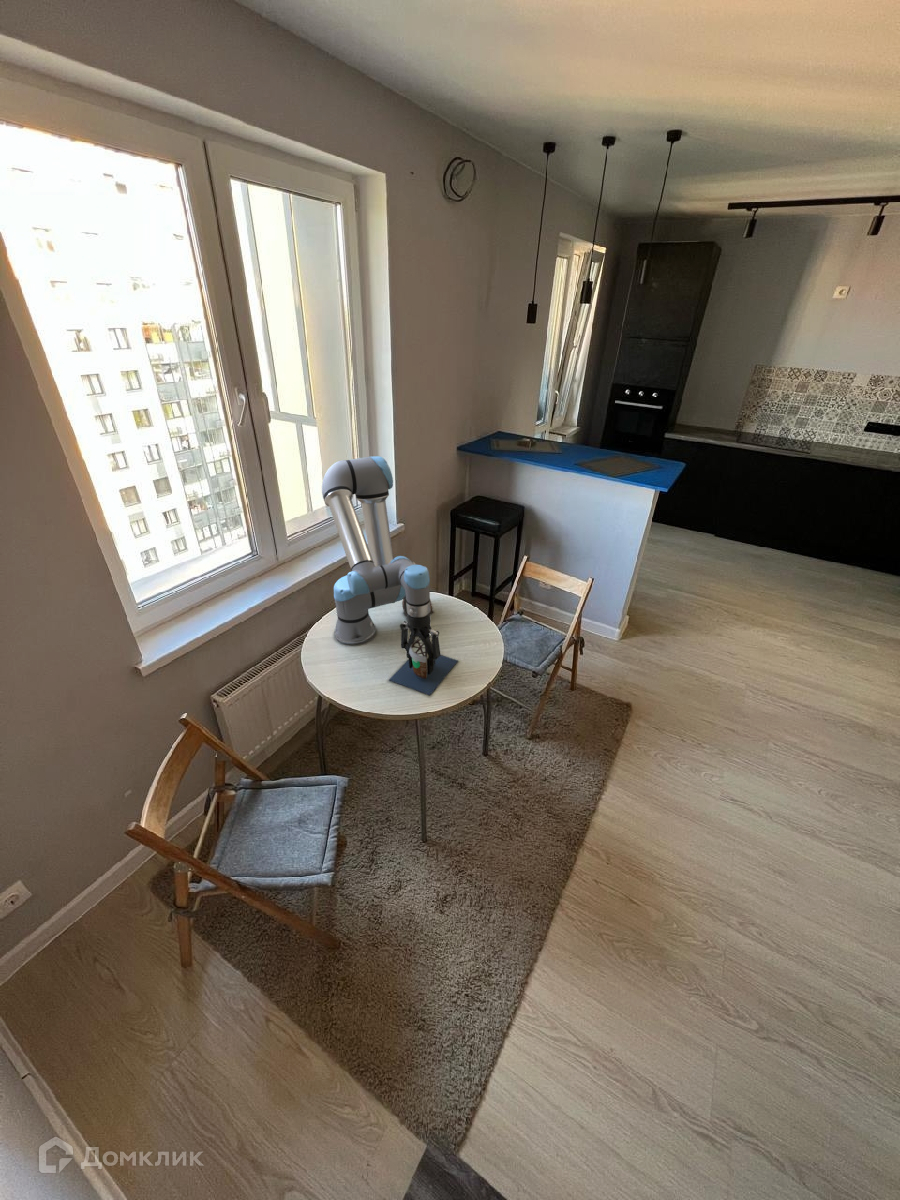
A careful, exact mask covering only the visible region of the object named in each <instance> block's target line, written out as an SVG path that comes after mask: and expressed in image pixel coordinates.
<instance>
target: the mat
mask: <svg viewBox="0 0 900 1200" xmlns="http://www.w3.org/2000/svg"><path fill="white" fill-rule="evenodd" d="M458 660H459V659H455V658H452V657H449V656H445V655H442V654H441V655H440V656H439V657H438V658H437V659H435V665H434V666H433V669H434V670H433V671H432V673H431V674H430V675H429V674H428V671H427V678H421V677H419V676H417V675H416V674H415V673H414V671H413V667H412V668H409V658H407V660H406V661H405V663H404V664H402V666H401V667H400V668H399V669H398V670H397V671H396V672H395V673H394V674H393V675H392V676H391V677H390V678H389V679H388V681H389V682H392V683H394V684H397V685H400V686H402V687H405V688H408V689H411V690H413V691H416V692H419V693H422V694H424V695H427V696H432V694H433V693H434V692H435V691H436V689H437V688H438V687H439V686H440V684H441V683H442V682H443V680H444V679H445V678H446V677H447V676H448V675H449V674H450V672H451V670H452V669H453V668H454V667H455V666H456V665H457V664H458V662H459V661H458Z"/></svg>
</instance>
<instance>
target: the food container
mask: <svg viewBox="0 0 900 1200" xmlns="http://www.w3.org/2000/svg"><path fill="white" fill-rule="evenodd" d="M409 653H410V656H411V657H412V664H413V671H414V673H415V674H416V675H417V676H419V677H421V678H427V671H428V670H427V658H428V657H429V656H428V654H427V651H426V648H425V646H424V643H423V642H422V640H421V638H419V637H416V638H415V641H414V643H413V644H411V646H410V649H409Z"/></svg>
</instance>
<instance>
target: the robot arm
mask: <svg viewBox="0 0 900 1200" xmlns="http://www.w3.org/2000/svg"><path fill="white" fill-rule="evenodd" d="M321 483H322V484H321V495H322V499H323V501H324V504H325V506H326V507H328V508H329V510H330V513H331V516H332V519H333V521H334V525H335V527H336V530H337V533H338V536H339V538H340V541H341V544H342V547H343V551H344V554H345V556H346V560H347V562H348V565H349V567H350V571H349V572H348V573H347V575H345V576H342V577H340V578H339V579H338V580H336V582H335V583H334V585H333V599H334V602H335V603H334V604H335V610H336V614H337V615H336V616H337V619H336V623H335V628H334V636H335V639H336V640H337V641H338V642H339V643H341V644H344V645H352V646H355V645H361V644H365V643H366V642H368V641H370V640H371V639H373V637H374V636H376V635H375V634H376V625H375V623H374V621H373V620H372V618H371V616H370V612H369V610H370V609H373V608H378V607H383V606H386V605H390V604H395V603H398V602H400V601H403V598H404V597H405V595H406V608H407V617H406V620H404V621H403V622H401V623H400V625H399V628H400V648H401V649H403V650H405V652H406V658H407V659H409V668H412V667H413V664H412V657H411V656H410V653H409V649H410V646H411V644H413V643H414V641H415V639H417V638H421V640H422V642H423V643H424V646H425V648H426V651H427V654H428V656H429V657H428V658H427V670H428V674H429V675H430V674H431V673H432V671H433V670H434V669H433V666H434V665H435V659H437V658H438V657H439V656H440V655H442V653H441V648H440V640H439V638H440V637H439V636H440V631H439V630H436V631H435V630H433V629H432V626H431V614H430V600H431V592H430V589H431V587H430V583H431V582H430V581H431V580H430V579H431V578H430V573H429V569H428V567H427V566H424V565H422V564H416V565H414V564H413V562H412V561H413V560H410V558H408V557H406V556H405V555H397V556H395V557H394V552H393V545H392V538H391V532H390V524H389V516H388V510H387V502H386V500H387V498H388V497H389V496H390V493H389V490H391V489H392V488H393V487H394V486H393V485H394V477H393V474H392V470H391V468H390V466H389V463H388V462H387V460H386V459H385V458H384V457H382V456H380V455H377V456H376V455H375V456H373V455H372V456H365V457H364V456H363V457H359V458H352V459H343V460H342V459H341V460H338V461H336V462H335V463H333V464H331V465H330V466H329V467H328V469H327V470H326V472H325V473H324V476H323V478H322V482H321ZM354 495H355V499H356V500H357V501H358V502H359V503H360V505H361V509H362V516H363V517H362V518H363V522H364V523H363V524H364V529H365V534H364V531H363V529H362V526H361V523H360V519H359V517H358V514H357V511H356V509H355V506H354V503H353V498H354ZM365 535H366V537H365ZM409 632H410V634H409Z"/></svg>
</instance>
